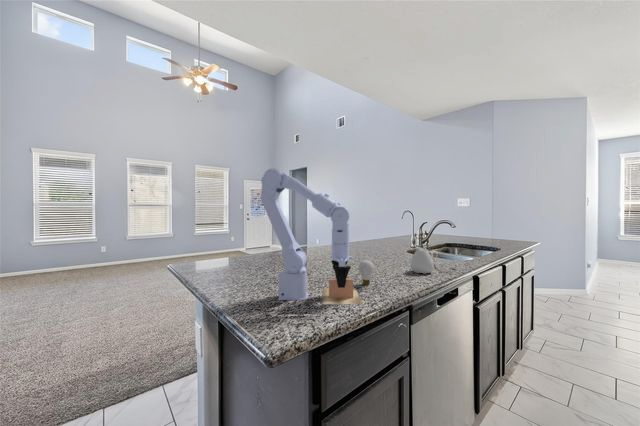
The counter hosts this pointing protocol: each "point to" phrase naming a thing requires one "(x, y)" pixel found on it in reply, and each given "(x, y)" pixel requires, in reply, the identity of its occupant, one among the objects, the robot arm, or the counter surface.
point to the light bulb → (366, 271)
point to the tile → (340, 289)
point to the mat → (340, 300)
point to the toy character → (422, 261)
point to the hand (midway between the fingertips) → (340, 284)
